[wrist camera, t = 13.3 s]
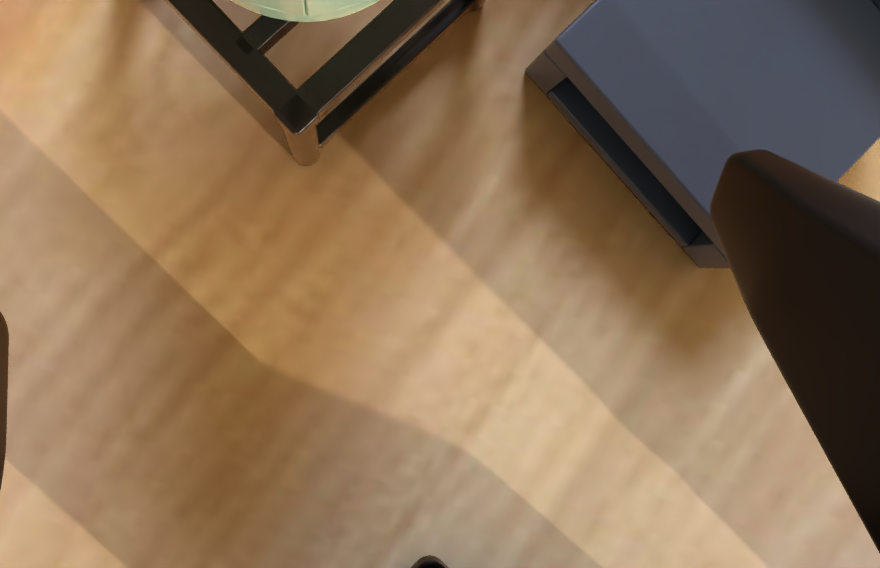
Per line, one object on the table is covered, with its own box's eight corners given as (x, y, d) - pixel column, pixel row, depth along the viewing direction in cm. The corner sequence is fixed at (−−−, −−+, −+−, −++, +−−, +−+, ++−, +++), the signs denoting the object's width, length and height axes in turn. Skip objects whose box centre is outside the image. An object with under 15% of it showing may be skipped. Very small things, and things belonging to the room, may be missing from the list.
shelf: (699, 269, 23) (802, 269, 18) (523, 71, 22) (580, 12, 17) (870, 93, 23) (1014, 46, 18) (709, -106, 22) (815, -212, 17)
